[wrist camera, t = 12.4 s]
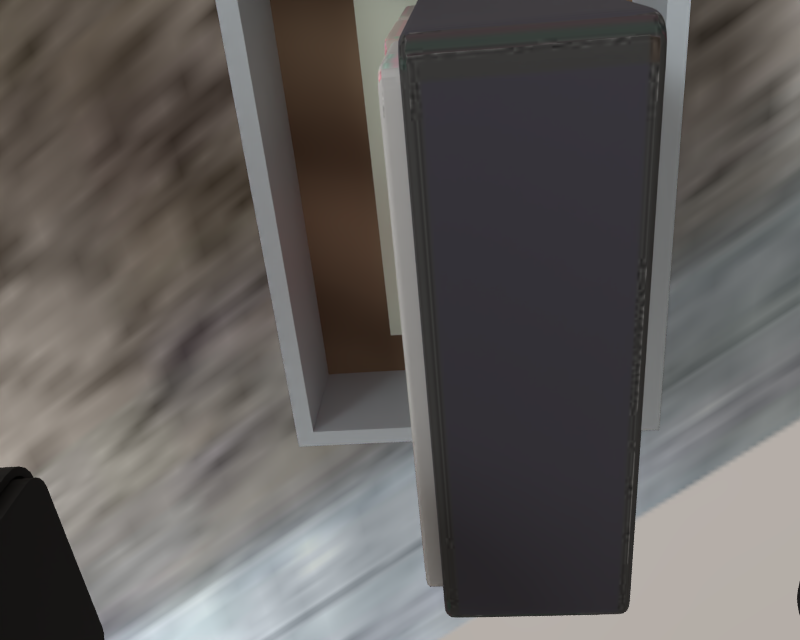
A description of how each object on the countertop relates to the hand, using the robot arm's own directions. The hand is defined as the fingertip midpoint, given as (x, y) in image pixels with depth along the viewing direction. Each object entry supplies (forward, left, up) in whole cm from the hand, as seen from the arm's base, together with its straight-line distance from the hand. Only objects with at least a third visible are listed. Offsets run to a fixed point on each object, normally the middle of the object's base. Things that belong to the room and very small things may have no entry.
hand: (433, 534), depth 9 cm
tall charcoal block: (0, +1, -19) cm, 19 cm away
